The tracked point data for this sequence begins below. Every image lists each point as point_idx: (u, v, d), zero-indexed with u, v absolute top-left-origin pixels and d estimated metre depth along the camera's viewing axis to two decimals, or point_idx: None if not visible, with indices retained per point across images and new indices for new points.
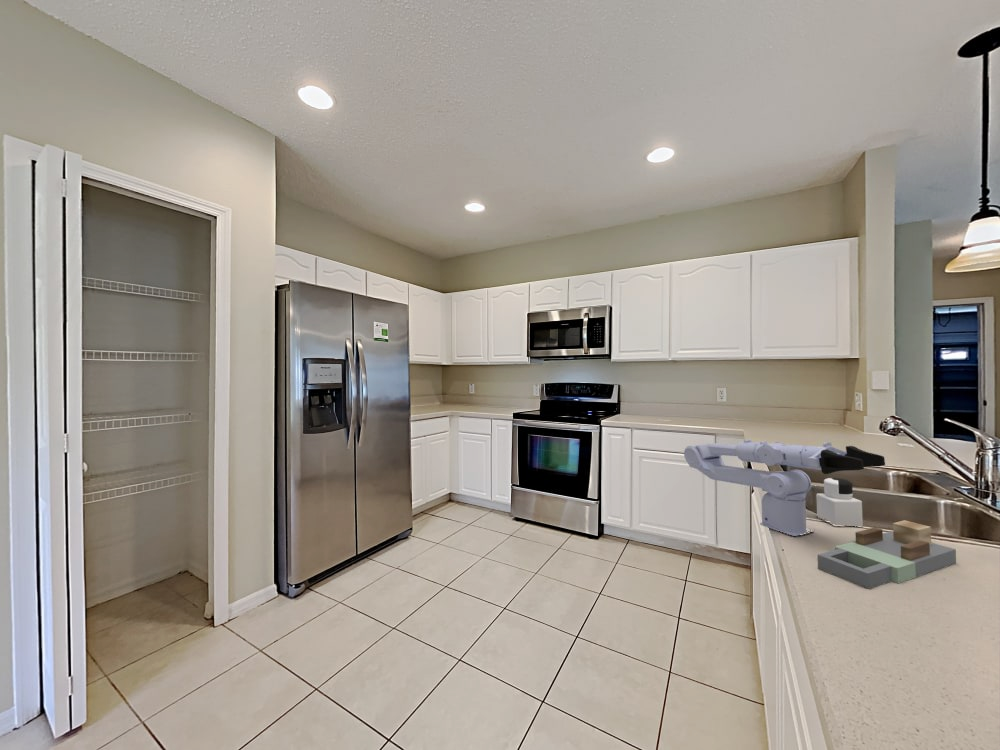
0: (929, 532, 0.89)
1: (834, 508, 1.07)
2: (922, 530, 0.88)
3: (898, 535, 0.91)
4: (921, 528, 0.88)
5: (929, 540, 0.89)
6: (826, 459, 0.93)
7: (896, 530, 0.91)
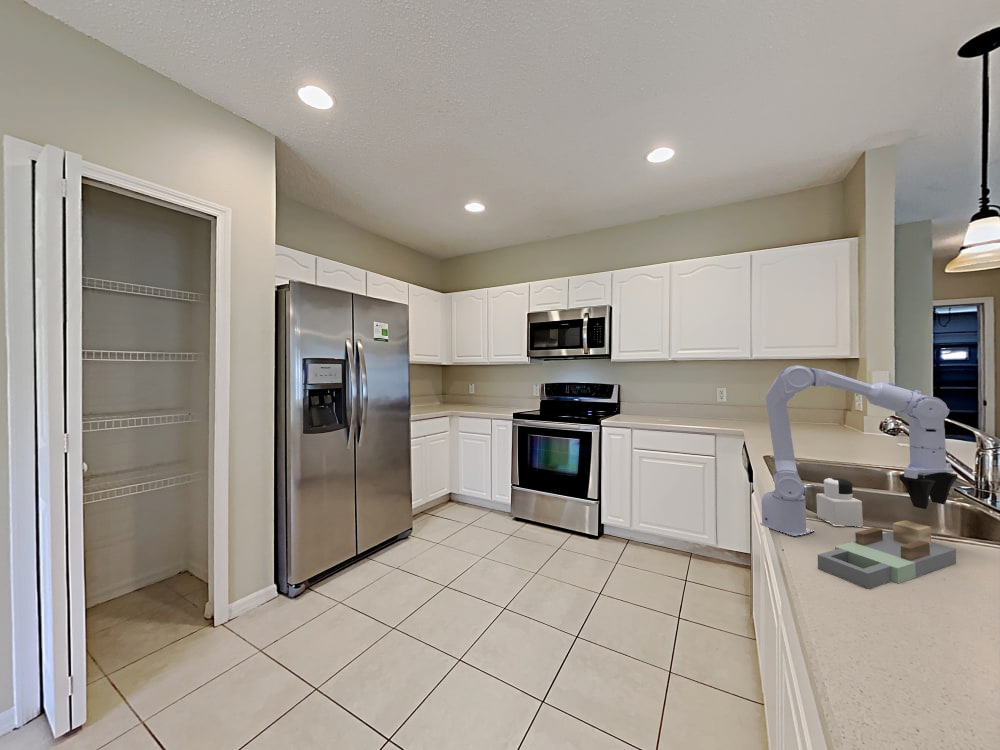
0: (929, 532, 0.89)
1: (834, 508, 1.07)
2: (922, 530, 0.88)
3: (898, 535, 0.91)
4: (921, 528, 0.88)
5: (929, 540, 0.89)
6: None
7: (896, 530, 0.91)
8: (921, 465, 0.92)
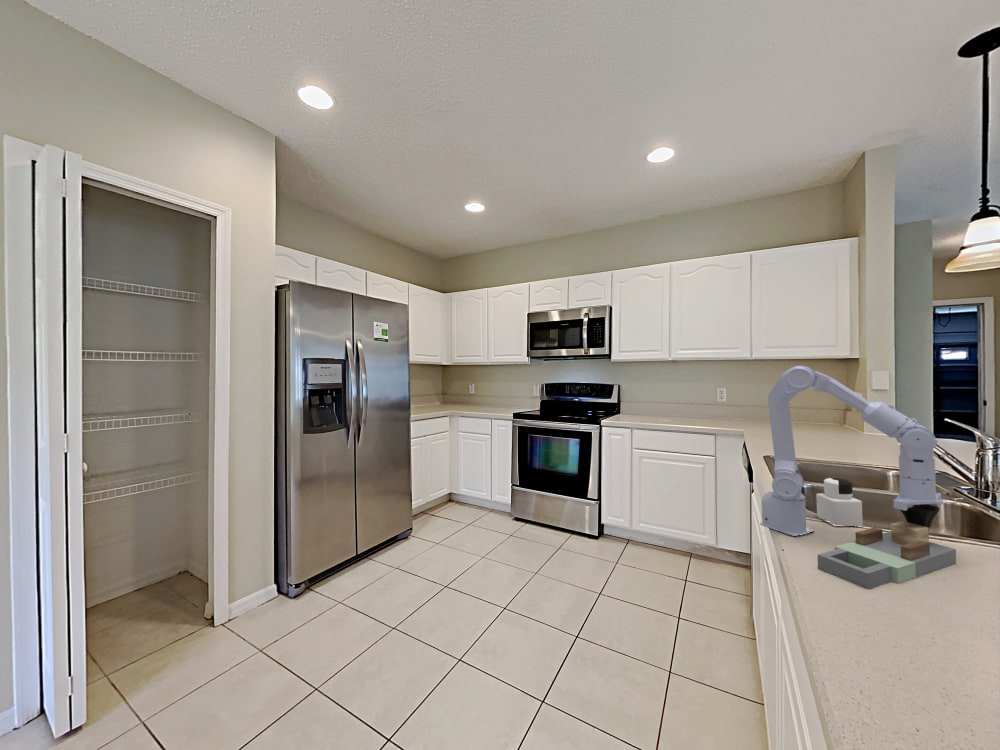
0: (927, 533, 0.88)
1: (834, 508, 1.07)
2: (920, 531, 0.87)
3: (896, 535, 0.90)
4: (919, 529, 0.88)
5: (927, 541, 0.88)
6: None
7: (894, 531, 0.91)
8: (911, 496, 0.90)
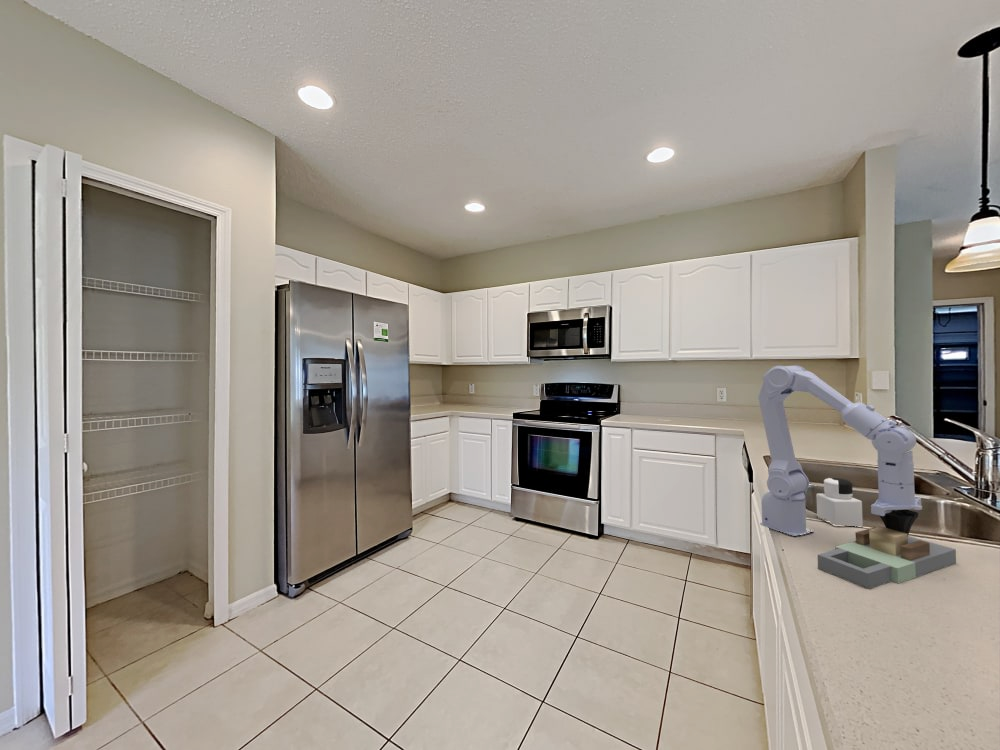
0: (906, 539, 0.85)
1: (834, 508, 1.07)
2: (898, 537, 0.84)
3: (874, 542, 0.87)
4: (897, 535, 0.85)
5: None
6: None
7: (872, 537, 0.88)
8: (889, 501, 0.87)
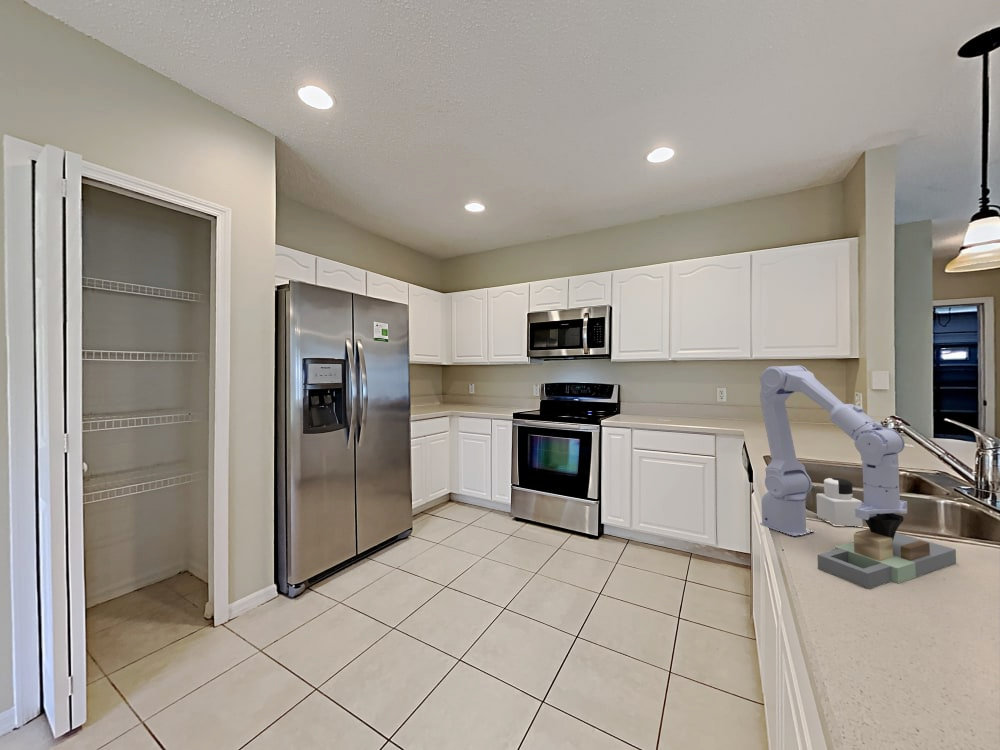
0: (890, 544, 0.83)
1: (834, 508, 1.07)
2: (883, 542, 0.83)
3: (858, 546, 0.86)
4: (882, 539, 0.83)
5: (891, 552, 0.83)
6: None
7: (856, 542, 0.86)
8: (874, 504, 0.85)
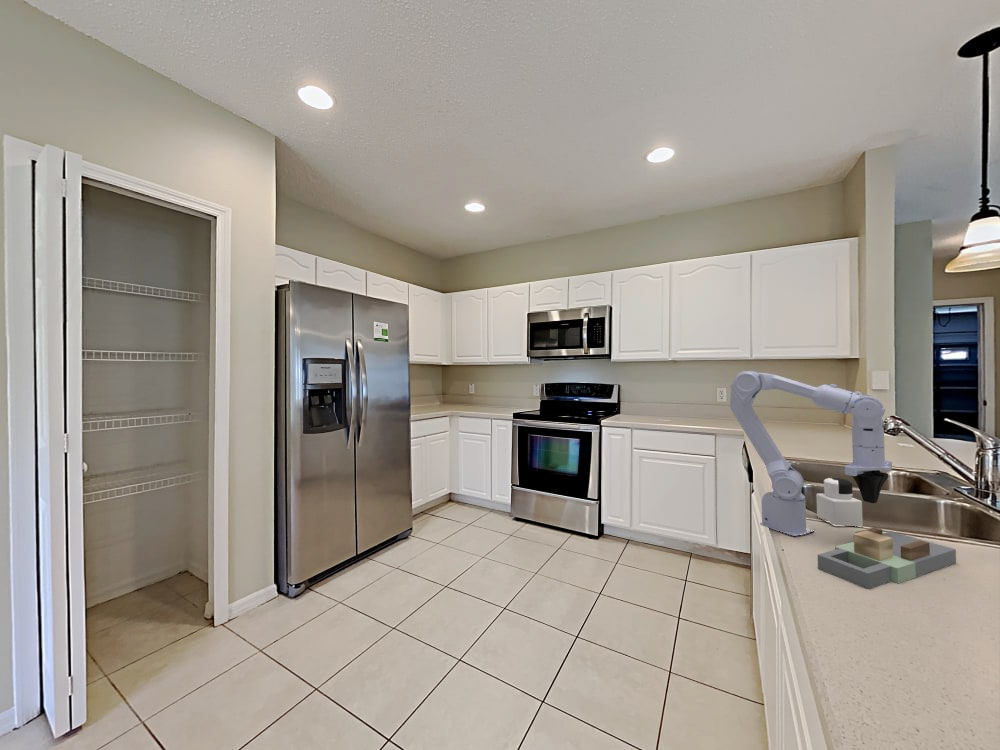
0: (890, 544, 0.83)
1: (834, 508, 1.07)
2: (883, 542, 0.83)
3: (858, 546, 0.86)
4: (882, 539, 0.83)
5: (891, 552, 0.83)
6: None
7: (856, 542, 0.86)
8: (861, 463, 0.95)
